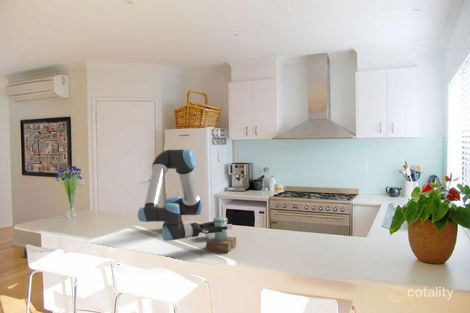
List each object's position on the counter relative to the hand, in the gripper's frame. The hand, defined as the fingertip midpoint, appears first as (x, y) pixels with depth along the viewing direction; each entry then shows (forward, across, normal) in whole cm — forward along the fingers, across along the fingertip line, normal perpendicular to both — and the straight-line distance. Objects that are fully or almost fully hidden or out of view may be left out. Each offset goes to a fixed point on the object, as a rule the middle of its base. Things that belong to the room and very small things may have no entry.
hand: (228, 224), depth 199 cm
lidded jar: (-2, -21, -13) cm, 25 cm away
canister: (-5, 0, -8) cm, 9 cm away
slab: (-5, 0, -13) cm, 14 cm away
